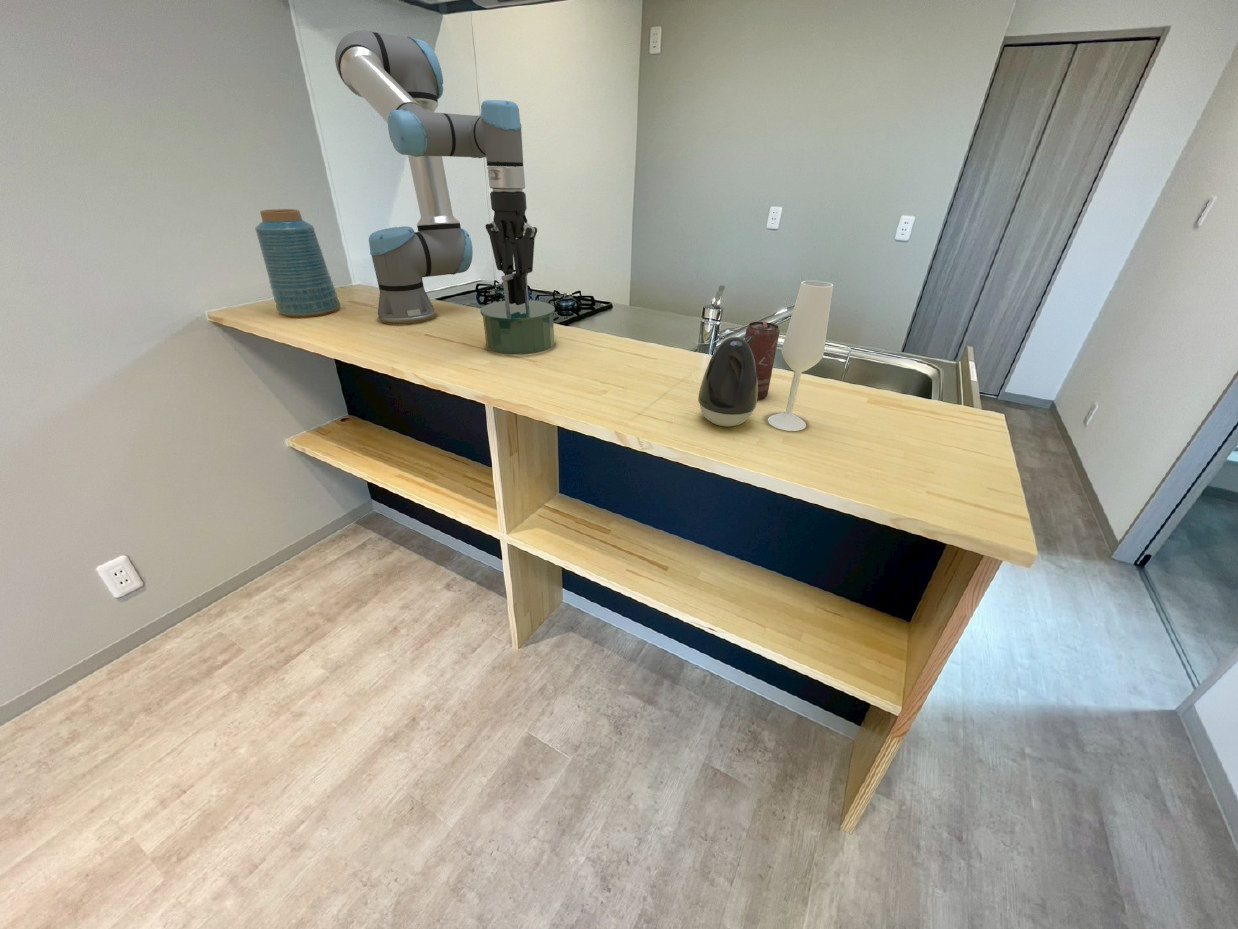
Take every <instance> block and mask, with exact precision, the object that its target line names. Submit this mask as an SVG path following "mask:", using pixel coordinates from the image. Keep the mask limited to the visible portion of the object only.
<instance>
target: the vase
mask: <svg viewBox="0 0 1238 929" xmlns="http://www.w3.org/2000/svg"><path fill="white" fill-rule="evenodd" d="M259 214H260V217H261V222H260V223H259V224H257V225H256V226H255V227H254V231H255V233H256V236H257V240H258V244H259V248H260V252H261V255H262V259H263V262H264V265H265V269H266V273H267V276H268V282H269V284H270V289H271V294H272V296H273V300H274V303H275V307H276V308H275V309H276V311H277V312H278V314H281V315H283V316H284V317H288V318H289V317H290V318H298V319H299V318H300V319H301V318H313V317H314V318H315V317H321V316H325V315H329V314H332V313H335V312H336V311H337V310H338V309H339V308H340V306H341V303H340V300H339V298H338V293H337V292H336V287H335V286H334V281H333V280H332V276H331V274H330V272H329V269H328V264H327V262H326V259H325V256H324V253H323V249H322V248H321V245H320V241H319V238H318V235H317V232H316V230H315V226H314V225H313V224H311V223H309V222H307V221H305V219H303V217H302V214H301V211H300V210H299V209H294V208H292V209H291V208H275V209H273V208H272V209H263V210H260V213H259Z"/></svg>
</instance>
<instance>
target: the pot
mask: <svg viewBox="0 0 1238 929" xmlns="http://www.w3.org/2000/svg"><path fill="white" fill-rule="evenodd" d="M482 322H483V331H484V336H485V338H484V339H485V346H486V349H487V350H490V351H492V352H494V353H498V354H502V355H510V356H511V355H513V356H514V355H517V356H519V355H530V354H531V355H532V354H537V353H543V352H545V351H548V350H550V349H552V348H553V347H554V346H555V323H554V313H553V314H552V315H550V316H548V317H545V318H541V319H536V320H528V321H501V320H494V319H489V318H486V317H484V316H482Z"/></svg>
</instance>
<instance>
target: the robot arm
mask: <svg viewBox="0 0 1238 929" xmlns="http://www.w3.org/2000/svg"><path fill="white" fill-rule="evenodd" d="M334 62H335V68H336V71H337V74H338V76H339V77H340V79H341V81H342V82H343V83H344V85H345V86H346V87H347V88H348V89H349V90H350V91H351V92H352V93H353V94H354V95H356V96H358V97H360V98H363V99H364V101H366V102H367V103H368V104H369V105H370V106H371V107H372V108H373V110H374V111H376V113H377V114H378V115H379V116H380V117H381V118H382V119H383V120H384V121H385V122H386V124H387V130H388V131H387V132H388V136H389V140H390V142H391V143H392V146H393V148H394V150H395V151H396V152H397V153H398V154H400V155H403V156H407V158H408V163H409V167H410V172H411V176H412V181H413V186H414V191H415V195H416V200H417V205H418V209H419V210H418V211H419V214H420V219H419V221H418V222H417V224H416V227H417V231H415V230H414V228H413V227H412V226H406V225H405V226H398V227H397V226H393V227H388V228H383V229H379V230H376V231H374V232H372V233H371V234H369V236H368V244H369V245H368V246H369V254H370V256H371V260H372V264H373V269H374V272H375V277H376V282H377V285H378V291H379V297H378V305H377V316H378V321H379V322H380V323H383V324H387V325H395V326H398V325H399V326H401V325H402V326H403V325H415V324H421V323H425V322H429V321H431V320H434V319H435V318H436V311H435V307H434V305H433V303H432V301H431V300H430V297H429V296H428V294H427V292H426V290H425V287H424V282H423V281H424V280H423V278H430V277H436V276H437V277H438V276H448V275H453V276H454V275H456V274H462V273H465V272H467V271H468V270H469V269H470V267H471V264H472V261H473V256H474V255H473V254H474V253H473V251H474V250H473V243H472V238H471V237H470V233H469V232H468V231H467V230H466V229H464V228H462V227H461V222H460V220H458V219H457V218H456V217H455V216H454V213H453V208H452V202H451V196H450V192H449V186H448V182H447V176H446V170H445V165H444V159H443V157H452V158H453V157H454V158H471V159H472V158H473V159H483V158H485V159H486V166H487V177H488V178H487V179H488V186H489V188H490V189H492V191H490V192H489V199H490V207H491V210H492V211H493V221H491V222H490V223H486V224H485V226H484V227H485V230H486V231H487V234H488V236H489V241H490V244H491V249H492V253H493V257H494V261H495V266H496V270H498V271H501V272H503V275H508V274H513V273H514V276H513V279H512V280H508V281H507V284H508V295H509V304H514V303H516V305H521V304H524V303H526V301H525V289H526V274H527V273H528V274H530V273H533V270H534V267H533V266H534V254H535V253H534V252H535V239H536V236H537V233H538V228H537V227H536V226H533V225H530V224H529V223H528V219H527V216H526V211H527V196H526V195H527V194H526V193H525V191H523V190H525V189H526V180H525V178H526V177H525V169H524V154H523V152H524V150H523V136H522V124H521V116H520V108H519V106H518V104H517V103H516V102H514V101H510V100H505V99H504V100H503V99H486V100H483V101H482V102H481V105H480V115H473V114H471V115H470V114H460V113H445V112H437V111H436V110H437V108H438V107H439V99H440V98H442V96H443V93H444V86H443V84H444V77H443V70H442V68H441V64H440V61H439V58H438V56H437V54H436V52H435V50H434V49H433V48H432V46H431V45H430V44H429V43H428V42H426V41H425V40H422V39H418V38H414V37H412V36H404V35H403V36H402V35H395V34H388V33H382V32H375V31H371V30H364V29H362V30H354V31H352V32H350V33H348V34H346V35H344V36H343V37H342V38H341V39H340V40H339V42H338V44H337V46H336V49H335V55H334Z"/></svg>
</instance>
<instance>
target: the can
mask: <svg viewBox="0 0 1238 929" xmlns="http://www.w3.org/2000/svg"><path fill="white" fill-rule="evenodd" d="M749 336H752V337H753V341H752V343H751V344H750V347H751V349H752V352H753V355H754V359H755V364H756V370H757V381H758V397H757V401H758V400H763V399H765V398H766V397H767V396H768V393H769V389H770V385H771V379H772V373H773V368H774V365H775V364H774V363H775V357H776V353H777V348H778V343H779V338H780V329H779V325H777V323H772V322H768V321H766V320H765V321H764V320H763V321H752V322H750V323H748V326H746V328H745V334H744V340H745V339H746V338H747V337H749Z"/></svg>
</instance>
